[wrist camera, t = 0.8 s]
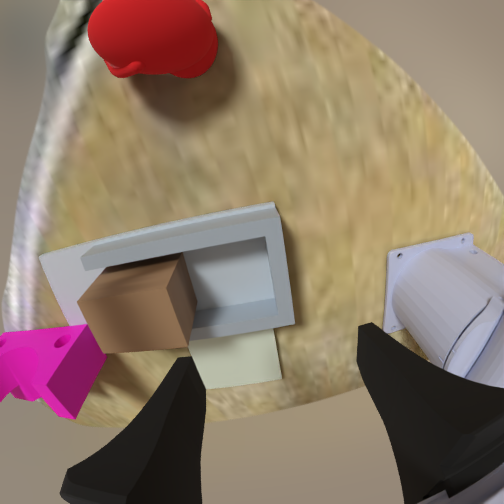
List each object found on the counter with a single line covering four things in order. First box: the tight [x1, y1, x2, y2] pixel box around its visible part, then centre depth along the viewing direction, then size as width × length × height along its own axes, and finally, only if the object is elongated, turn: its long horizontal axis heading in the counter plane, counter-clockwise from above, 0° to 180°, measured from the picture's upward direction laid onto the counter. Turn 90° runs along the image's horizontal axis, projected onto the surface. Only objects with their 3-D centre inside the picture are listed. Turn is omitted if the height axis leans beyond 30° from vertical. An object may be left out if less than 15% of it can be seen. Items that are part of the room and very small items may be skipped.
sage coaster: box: [188, 328, 282, 389], centre depth 23 cm, size 7×7×1 cm
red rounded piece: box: [88, 0, 218, 78], centre depth 12 cm, size 8×6×6 cm
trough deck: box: [39, 202, 295, 341], centre depth 19 cm, size 19×8×3 cm, turn 100°
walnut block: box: [77, 252, 198, 354], centre depth 17 cm, size 6×4×5 cm, turn 100°
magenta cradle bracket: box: [0, 324, 107, 419], centre depth 19 cm, size 15×6×8 cm, turn 103°
